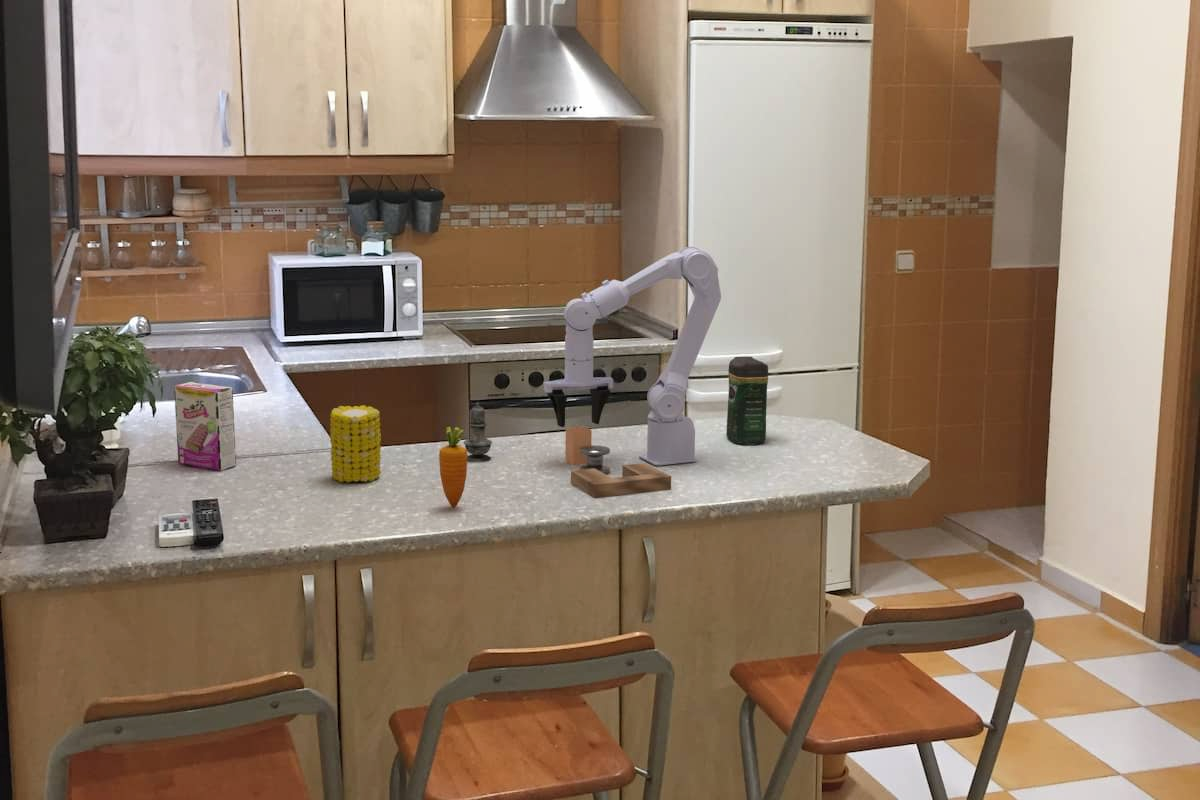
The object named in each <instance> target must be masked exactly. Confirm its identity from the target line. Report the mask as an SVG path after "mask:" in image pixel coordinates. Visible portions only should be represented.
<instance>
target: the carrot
mask: <svg viewBox="0 0 1200 800" xmlns="http://www.w3.org/2000/svg"><path fill="white" fill-rule="evenodd" d="M463 433H464V429H460V428H459V427H454V429H453V431H452V429H451V427H450V426H448V427H446V434H445V435H446V438H447V441H448V442H447V443H448V445H444V446H443V447H441V448H440V450H439V452H438V456H439V457H438V459H439V474H440V479H441V484H442V485H441V486H442V489H443V492H444V495H445V497H446V500H447V502H448V503H449V505H450V506H451V507H452V508H453V509H454V508H456V507H457V506H458V504H459V503H460V500H461V498H462V495H463V493H464V490H465V485H466V479H467V476H468V475H467V471H468V461H467V456H468V451H467V450H466V448H465V446H462V445H461V444H459V442H460V441H461V440H462V438H459V437H460V436H461V434H463Z"/></svg>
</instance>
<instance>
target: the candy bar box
mask: <svg viewBox="0 0 1200 800" xmlns="http://www.w3.org/2000/svg"><path fill="white" fill-rule="evenodd" d="M173 392H174V408H175V409H174V410H175V424H176V428H175V429H176V441H177V461H178V462H177V464H178V465H179V466H186V467H191V468H199V469H204V470H205V469H206V470H210V471H211V470H212V471H218V472H223V471H226V470H229V469H231V468H234V467H237V456H236V455H237V453H236V452H237V451H236V441H235V440H236V434H235V412H234V390H233V386H232V387H231V386H225V385H217V384H210V383H209V384H208V383H203V382H202V383H200V382H195V381H188V382H184V383H180V384H179V383H178V384H175V385H174V386H173Z"/></svg>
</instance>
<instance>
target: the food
mask: <svg viewBox="0 0 1200 800" xmlns="http://www.w3.org/2000/svg"><path fill="white" fill-rule="evenodd" d="M380 413H381V412H380V411H379V410H378V409H377V408H374V407H373V406H370V405H369V406H366V405H360V406H358V405H357V406H356V405H354V406H351V405H346V406H343V405H339V406H338V407H337V408H336V407H334V408H333V409H331V411H330V415H329V416H330V419H329V421H330V423H329V424H330V440H329V441H330V445H331V448H330V455H331V456H330V461H331V475H332V478H333V480H335V481H338V482H339V483H343V482H346V483H350V482H355V483H358V482H359V481H360V482H374V481H375V480H377V479H378V477H380V475H381V472H382V471H381V466H380V465H381V459H382V456H381V447H382V446H381V444H380V443H381V442H382V438H381V434H382V433H381V427H380V426H381V422H380V420H381V417H380Z"/></svg>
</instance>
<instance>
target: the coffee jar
mask: <svg viewBox="0 0 1200 800" xmlns="http://www.w3.org/2000/svg"><path fill="white" fill-rule="evenodd" d="M727 372H728V398H727V416H726V417H727V418H726V431H725V432H726V433H725V434H726V437H727V439H728V440H730V441H731V442H733V443H735V444H745V445H747V446H748V445H749V446H752V445H753V446H754V444H755V445H757V444H760V443H764V442H765V441H766V439H767V403H768V402H767V400H768V399H767V398H768V383H769V382H768V381H769V365H768V364H766V363H765V362H763V361H761V360H758V359H755V358H753V356H734V357H733V359H731V360H729V364H728V371H727Z"/></svg>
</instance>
